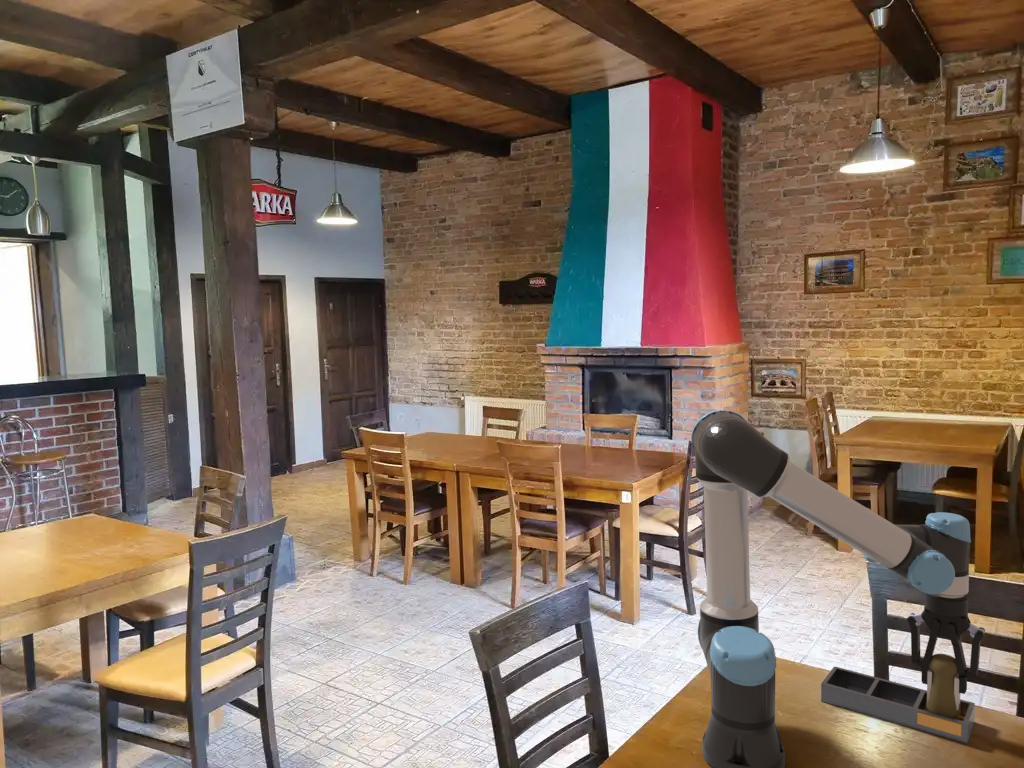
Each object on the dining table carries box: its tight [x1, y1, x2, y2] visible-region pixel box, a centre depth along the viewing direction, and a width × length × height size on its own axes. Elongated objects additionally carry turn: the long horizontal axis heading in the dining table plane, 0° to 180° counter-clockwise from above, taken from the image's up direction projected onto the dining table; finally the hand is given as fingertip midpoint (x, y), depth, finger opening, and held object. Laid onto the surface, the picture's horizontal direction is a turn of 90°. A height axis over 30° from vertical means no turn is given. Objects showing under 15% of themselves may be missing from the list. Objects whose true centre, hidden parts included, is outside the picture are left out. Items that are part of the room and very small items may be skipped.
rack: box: [820, 666, 976, 745], centre depth 155 cm, size 27×10×4 cm, turn 51°
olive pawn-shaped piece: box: [926, 653, 961, 717], centre depth 149 cm, size 6×6×11 cm
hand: (943, 702), depth 149 cm, fingers closed on olive pawn-shaped piece, 4 cm apart
